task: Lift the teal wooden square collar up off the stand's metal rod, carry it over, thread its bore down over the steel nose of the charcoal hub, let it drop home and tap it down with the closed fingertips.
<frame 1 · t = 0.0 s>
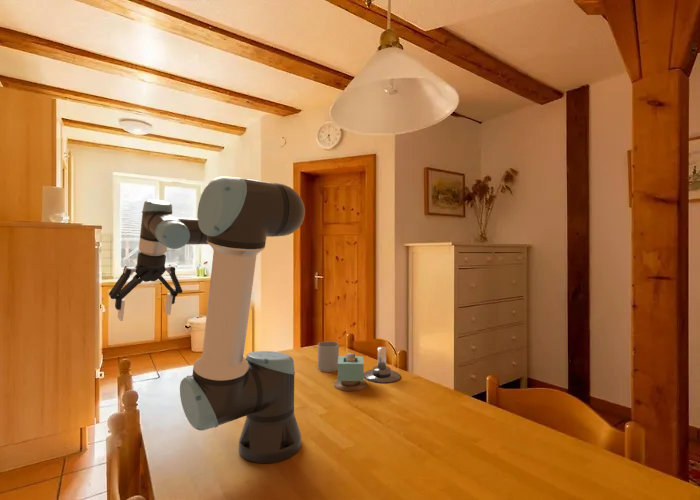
hand: (144, 315, 119), 28 cm above the table, tool tilted 20°, fingers open, 13 cm apart
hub: (381, 376, 146), on the table
stand: (350, 384, 137), on the table
cup: (328, 369, 155), on the table
collar: (350, 376, 137), point 3 cm above the table, touching stand
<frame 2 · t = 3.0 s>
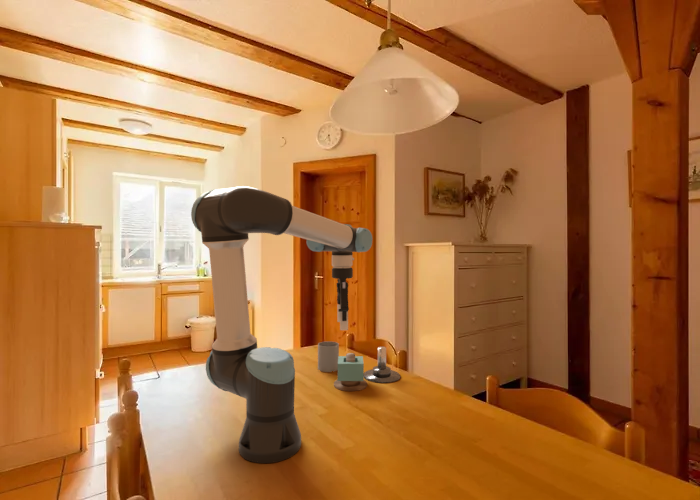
hand: (342, 325, 138), 21 cm above the table, tool pointing down, fingers open, 13 cm apart
nothing on the table moved.
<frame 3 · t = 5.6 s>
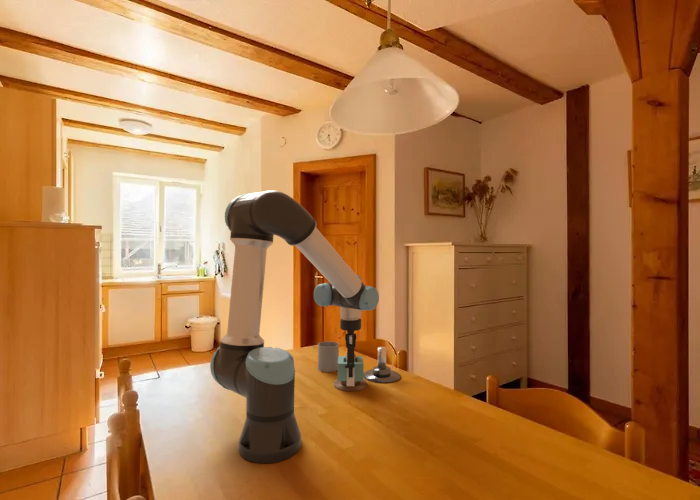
hand: (350, 380, 137), 1 cm above the table, tool pointing down, fingers closed on collar, 9 cm apart
collar: (350, 376, 137), point 3 cm above the table, touching gripper, stand
everything else where it was.
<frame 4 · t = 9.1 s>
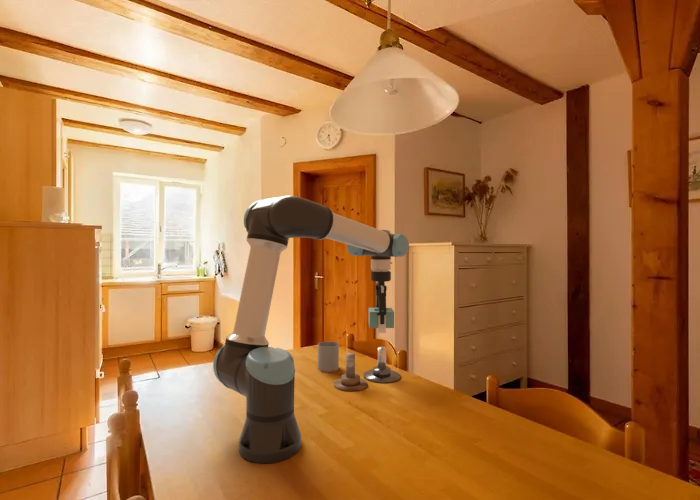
hand: (380, 329, 145), 18 cm above the table, tool pointing down, fingers closed on collar, 9 cm apart
collar: (380, 325, 145), point 20 cm above the table, touching gripper
everything else where it was.
when the fingers open (3 cm above the table, at t = 12.3 s): collar drops 1 cm, resting on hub.
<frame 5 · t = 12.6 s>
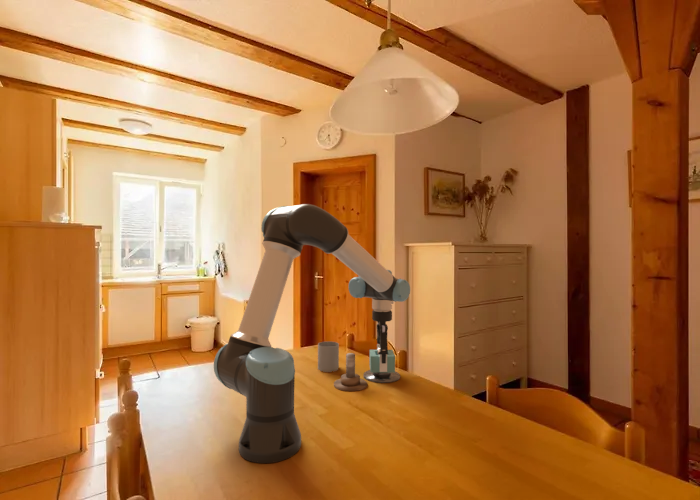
hand: (381, 365, 146), 4 cm above the table, tool pointing down, fingers open, 12 cm apart
collar: (381, 368, 146), point 3 cm above the table, touching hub
everything else where it was.
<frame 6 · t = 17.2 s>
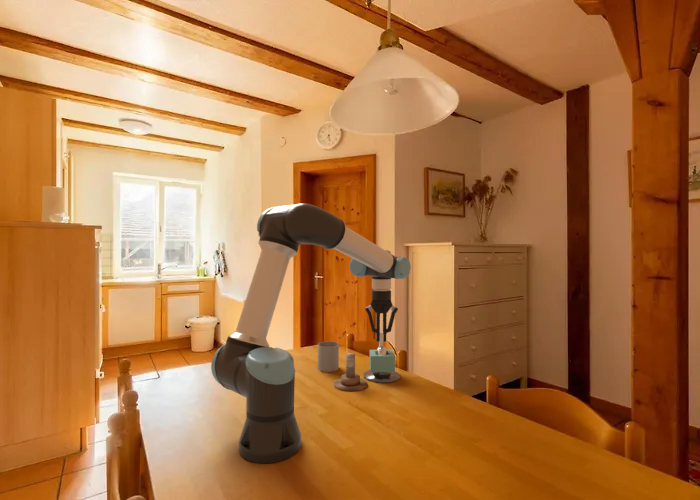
hand: (381, 349, 149), 9 cm above the table, tool pointing down, fingers closed
collar: (381, 368, 146), point 3 cm above the table, touching gripper, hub
everything else where it was.
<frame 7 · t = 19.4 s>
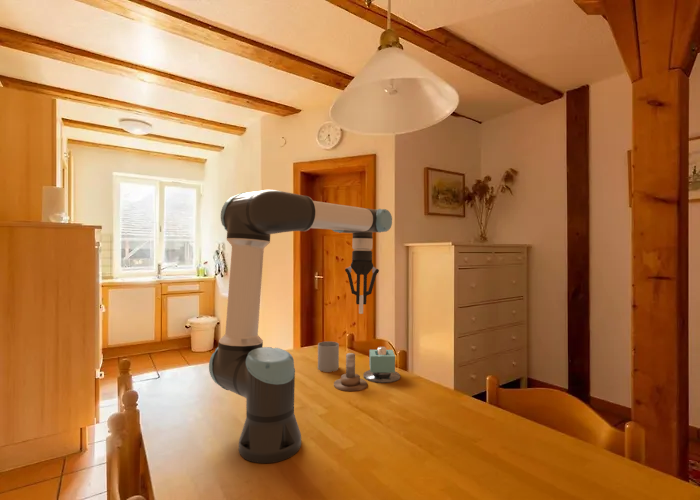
hand: (361, 313, 142), 25 cm above the table, tool pointing down, fingers closed
collar: (381, 368, 146), point 3 cm above the table, touching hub
everything else where it was.
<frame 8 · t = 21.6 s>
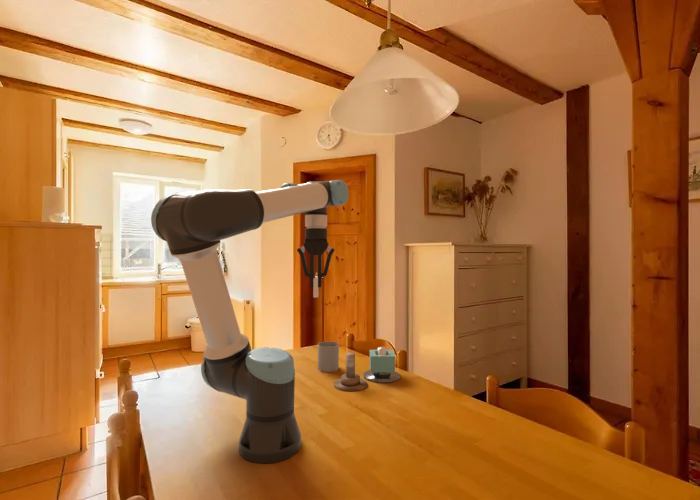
hand: (315, 296, 130), 32 cm above the table, tool pointing down, fingers closed
nothing on the table moved.
at the end: collar 0.0 cm off-centre on the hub, point 3.0 cm above the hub's base; collar tilted 0°; the gripper is holding nothing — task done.
